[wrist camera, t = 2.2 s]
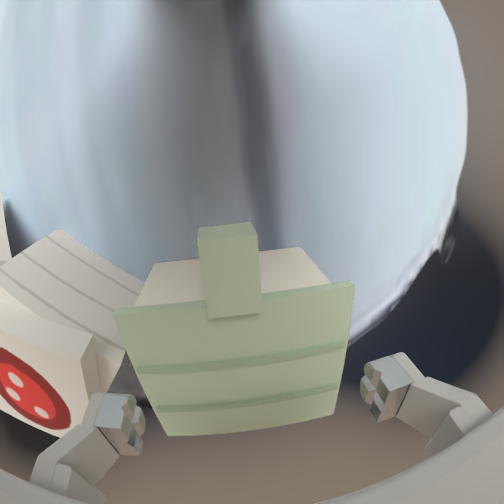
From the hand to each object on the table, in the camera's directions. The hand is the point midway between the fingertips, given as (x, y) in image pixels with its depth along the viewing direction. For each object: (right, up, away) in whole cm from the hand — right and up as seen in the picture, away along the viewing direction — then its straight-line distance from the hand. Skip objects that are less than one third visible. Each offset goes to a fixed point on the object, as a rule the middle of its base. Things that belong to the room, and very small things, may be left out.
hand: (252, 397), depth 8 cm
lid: (-1, -4, +17) cm, 18 cm away
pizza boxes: (-28, +1, +23) cm, 36 cm away
